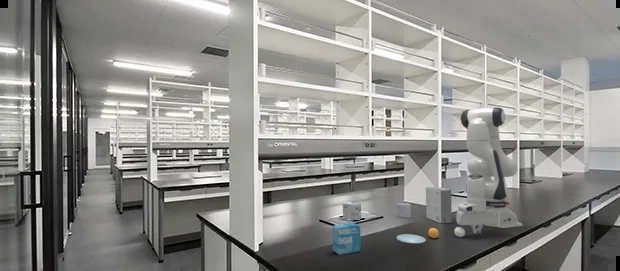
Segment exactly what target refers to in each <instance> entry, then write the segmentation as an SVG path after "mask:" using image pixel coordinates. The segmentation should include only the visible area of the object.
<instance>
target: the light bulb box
mask: <svg viewBox="0 0 620 271" xmlns="http://www.w3.org/2000/svg"><path fill="white" fill-rule="evenodd" d="M343 219H350V220H360V219H361V220H362V202H360V201H359V202H356V201H355V202H353V201H345V202H343V203H342V220H343ZM361 220H360V221H361Z"/></svg>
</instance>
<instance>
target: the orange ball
mask: <svg viewBox="0 0 620 271" xmlns="http://www.w3.org/2000/svg"><path fill="white" fill-rule="evenodd" d="M427 233H428V236H429V237H430V238H432V239H437V238H438V237H439V235H440V232H439V230H438V229H437V228H436V227H431V228H429V230H428V232H427Z"/></svg>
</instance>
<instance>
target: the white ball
mask: <svg viewBox="0 0 620 271" xmlns="http://www.w3.org/2000/svg"><path fill="white" fill-rule="evenodd" d="M453 233H454V234H455V236H456V237H458V238H462V237H464V236H465V235H466V230H465V229H464V228H463V227H461V226H458V227H457V226H456V227H455V228H454V231H453Z"/></svg>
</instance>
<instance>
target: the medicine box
mask: <svg viewBox="0 0 620 271" xmlns="http://www.w3.org/2000/svg"><path fill="white" fill-rule="evenodd" d="M397 217H398V218H400V219H412V205H411V204H410V203H406V202H405V203H402V202H401V203H397Z"/></svg>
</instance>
